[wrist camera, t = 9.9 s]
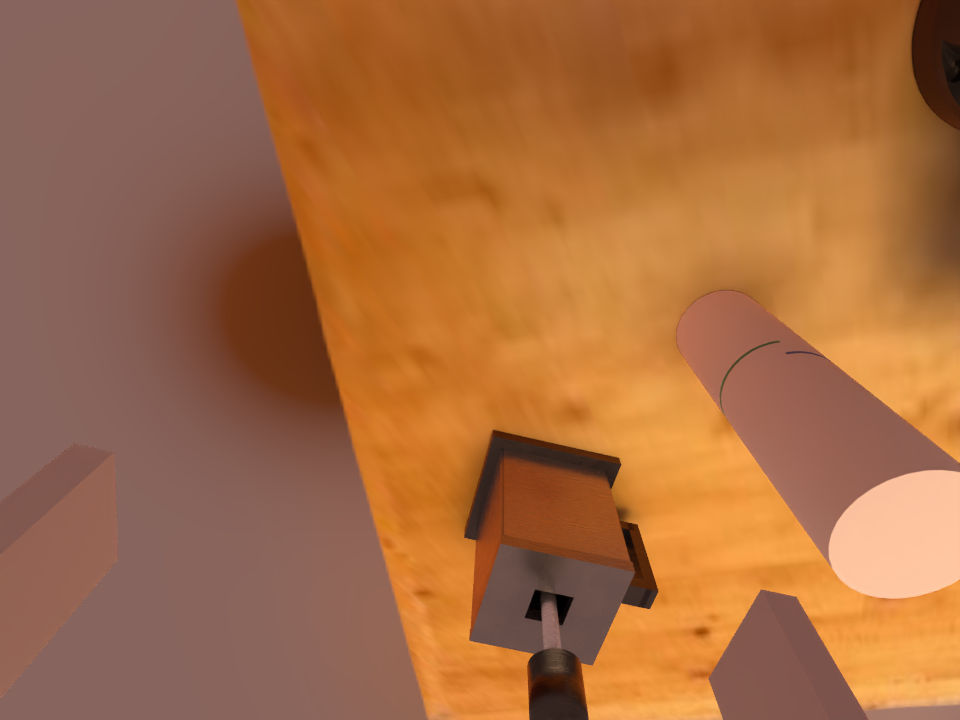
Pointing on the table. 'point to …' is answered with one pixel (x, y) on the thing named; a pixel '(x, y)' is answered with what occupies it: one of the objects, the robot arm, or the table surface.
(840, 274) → the table surface
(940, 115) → the robot arm
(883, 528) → the cylindrical container
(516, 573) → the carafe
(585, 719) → the plunger
